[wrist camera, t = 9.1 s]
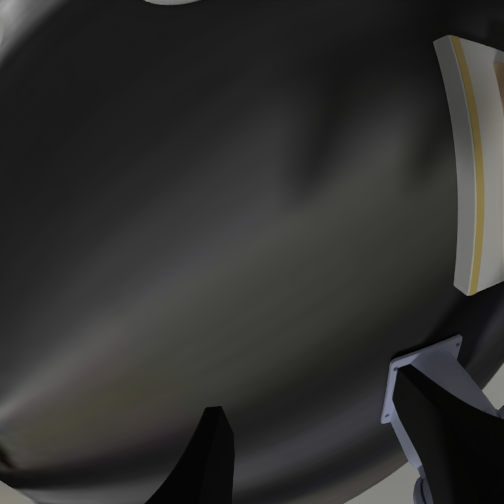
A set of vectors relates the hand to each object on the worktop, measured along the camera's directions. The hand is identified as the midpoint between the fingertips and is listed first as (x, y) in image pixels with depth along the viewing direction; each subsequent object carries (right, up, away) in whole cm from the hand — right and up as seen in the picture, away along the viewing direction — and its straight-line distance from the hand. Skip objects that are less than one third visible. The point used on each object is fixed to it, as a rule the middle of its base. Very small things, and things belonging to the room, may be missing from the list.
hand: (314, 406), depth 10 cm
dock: (+19, +14, +6) cm, 24 cm away
